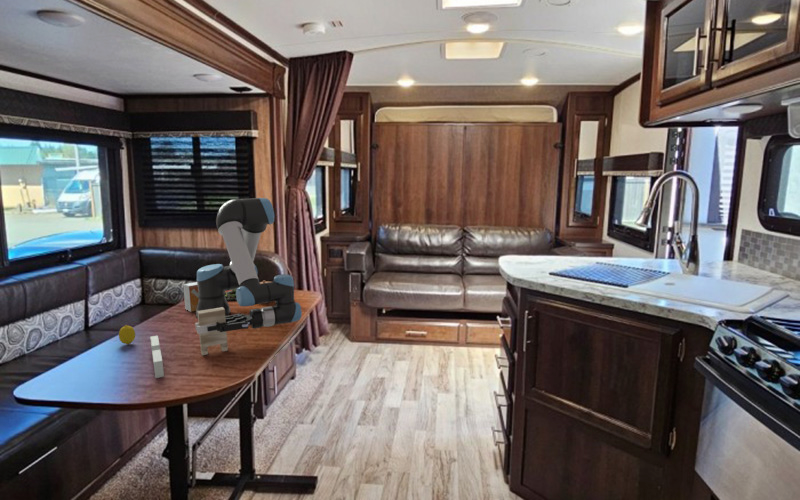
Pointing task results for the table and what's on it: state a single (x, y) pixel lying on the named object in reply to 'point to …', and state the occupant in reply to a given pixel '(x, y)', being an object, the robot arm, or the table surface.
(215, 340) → the slotted tab
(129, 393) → the table surface
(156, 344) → the notched board
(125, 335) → the lemon
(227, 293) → the salad plate
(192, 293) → the small box
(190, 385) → the table surface
